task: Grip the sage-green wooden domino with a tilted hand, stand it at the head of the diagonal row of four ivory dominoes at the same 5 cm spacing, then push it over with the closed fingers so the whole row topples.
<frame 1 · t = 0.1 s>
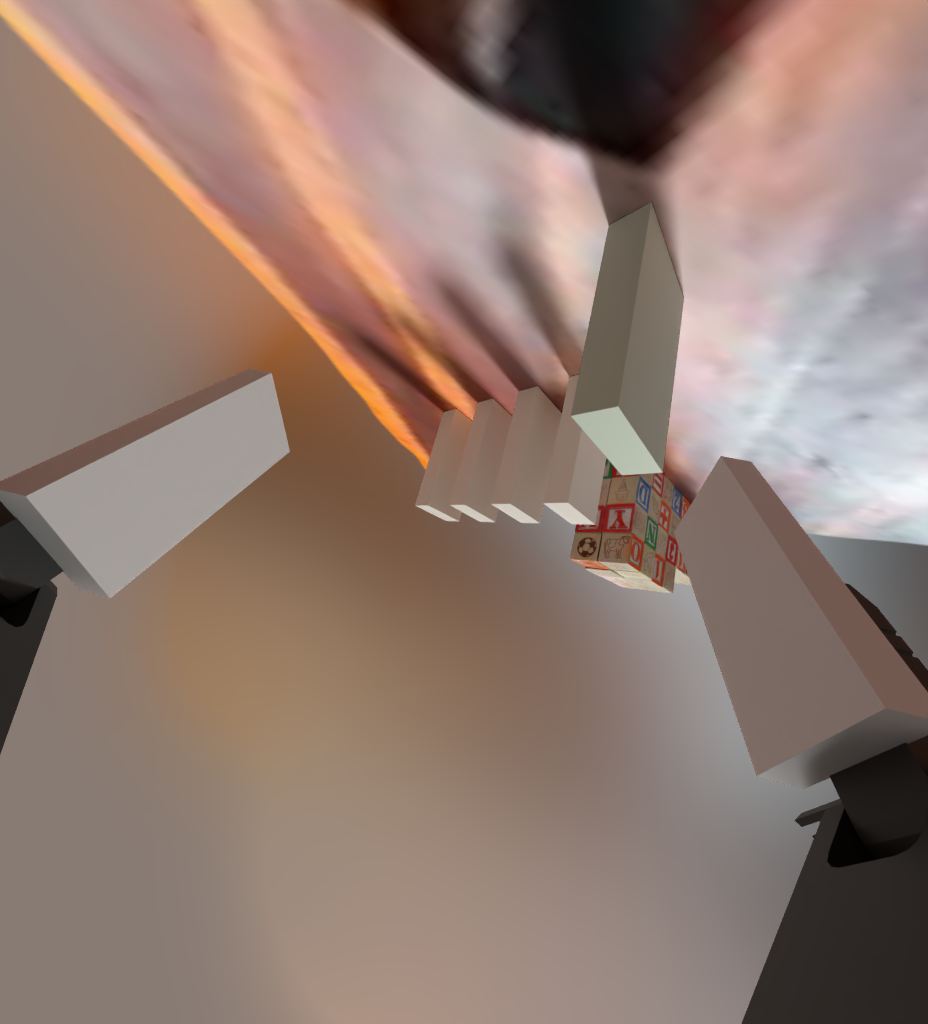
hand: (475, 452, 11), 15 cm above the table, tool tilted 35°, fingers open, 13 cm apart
sage domino: (648, 264, 20), on the table
stack of blocks: (652, 489, 46), on the table
domino 2: (592, 390, 31), on the table
domino 4: (498, 413, 38), on the table
domino 5: (463, 421, 41), on the table
domino 3: (541, 403, 34), on the table
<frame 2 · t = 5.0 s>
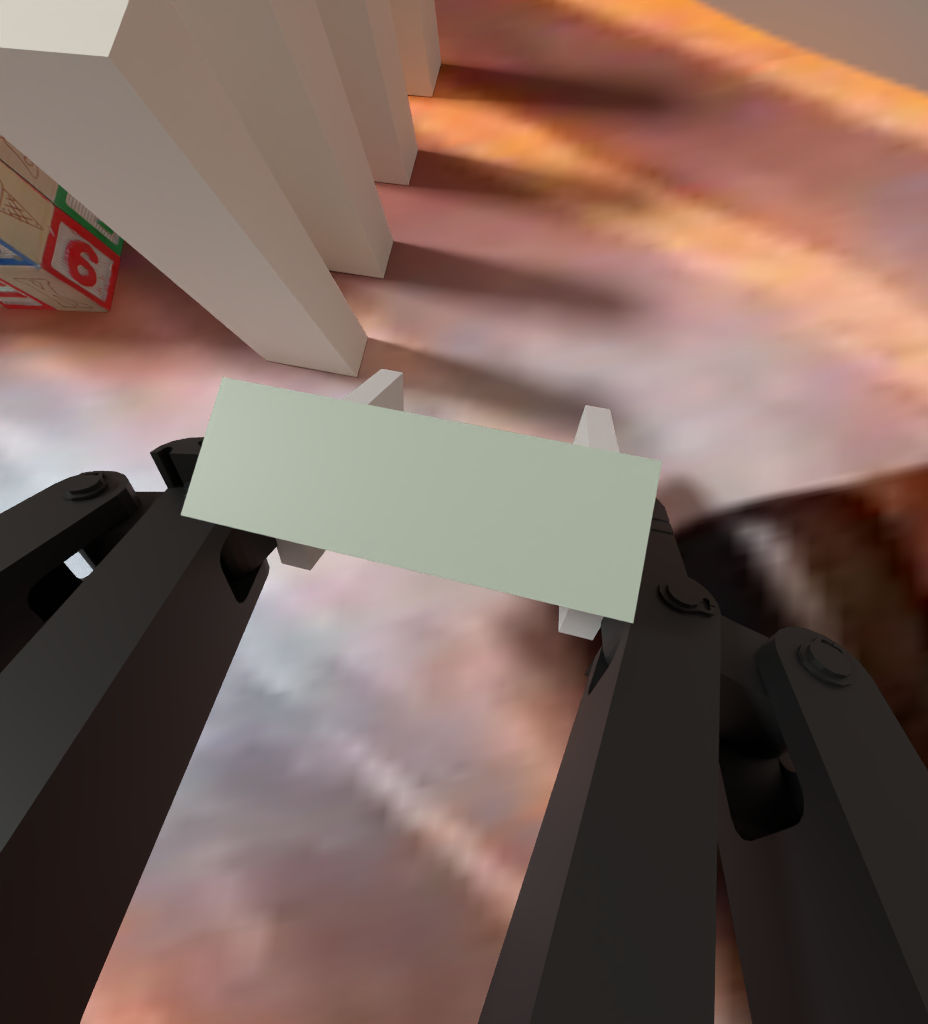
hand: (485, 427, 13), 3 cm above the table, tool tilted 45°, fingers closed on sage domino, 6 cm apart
sage domino: (469, 535, 16), on the table, touching gripper
domino 2: (316, 348, 17), on the table
domino 4: (369, 162, 18), on the table
domino 5: (393, 76, 19), on the table
domino 3: (343, 253, 18), on the table
when the fingers open (4 cm above the table, at t = 11.3 s): sage domino stays where it is, on the table.
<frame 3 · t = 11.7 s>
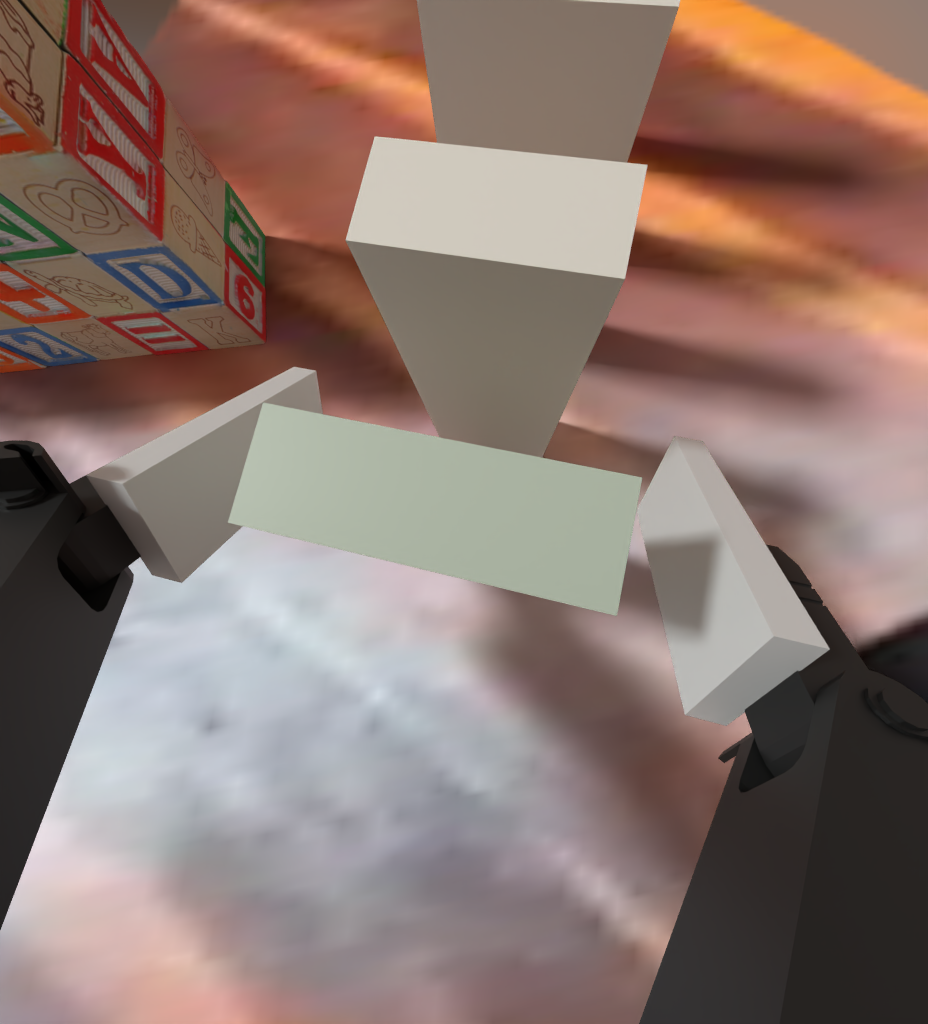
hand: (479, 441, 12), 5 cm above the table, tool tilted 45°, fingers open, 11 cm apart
sage domino: (472, 537, 16), on the table
stack of blocks: (85, 315, 20), on the table
domino 2: (495, 430, 17), on the table
domino 3: (517, 330, 17), on the table
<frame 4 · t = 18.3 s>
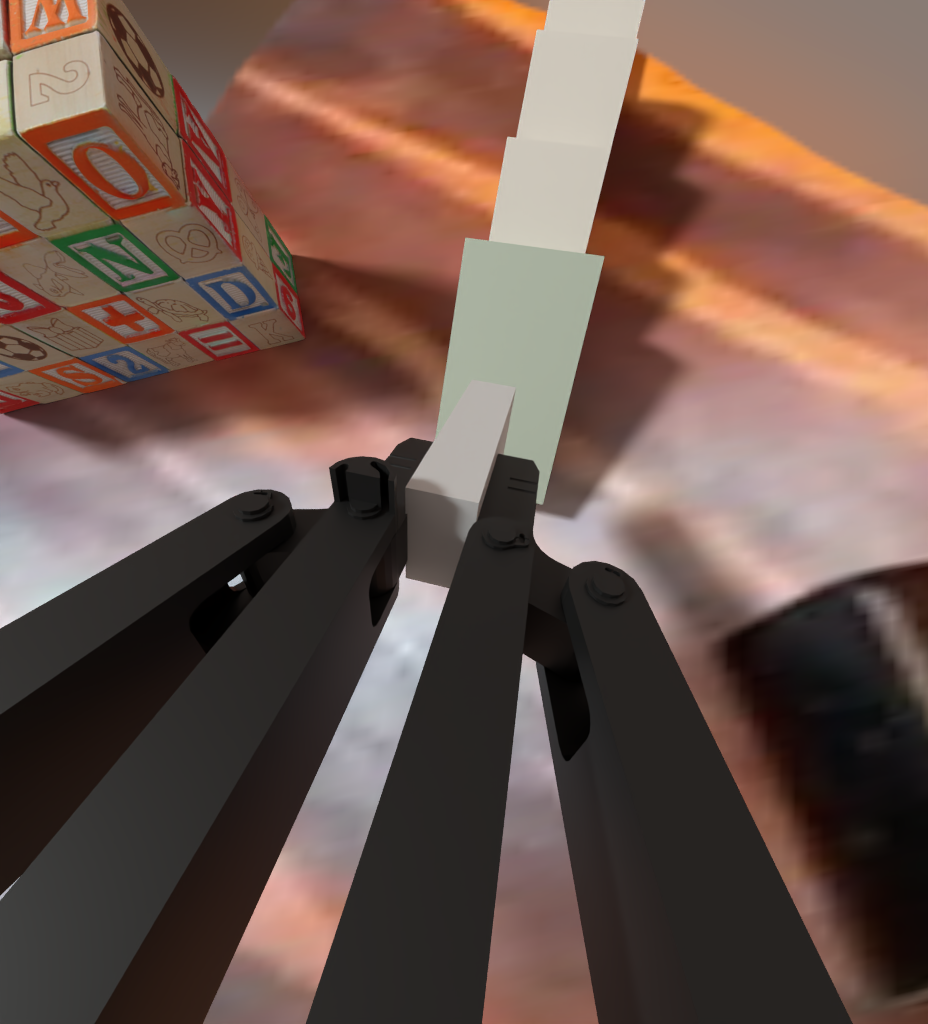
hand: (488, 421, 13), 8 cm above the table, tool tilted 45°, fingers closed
sage domino: (487, 488, 20), point 1 cm above the table, tilted 67°, touching domino 2
stack of blocks: (150, 338, 24), on the table
domino 2: (505, 399, 20), point 1 cm above the table, tilted 67°, touching domino 3, sage domino
domino 4: (547, 231, 21), point 1 cm above the table, tilted 70°, touching domino 3, domino 5
domino 3: (527, 307, 21), point 1 cm above the table, tilted 67°, touching domino 2, domino 4
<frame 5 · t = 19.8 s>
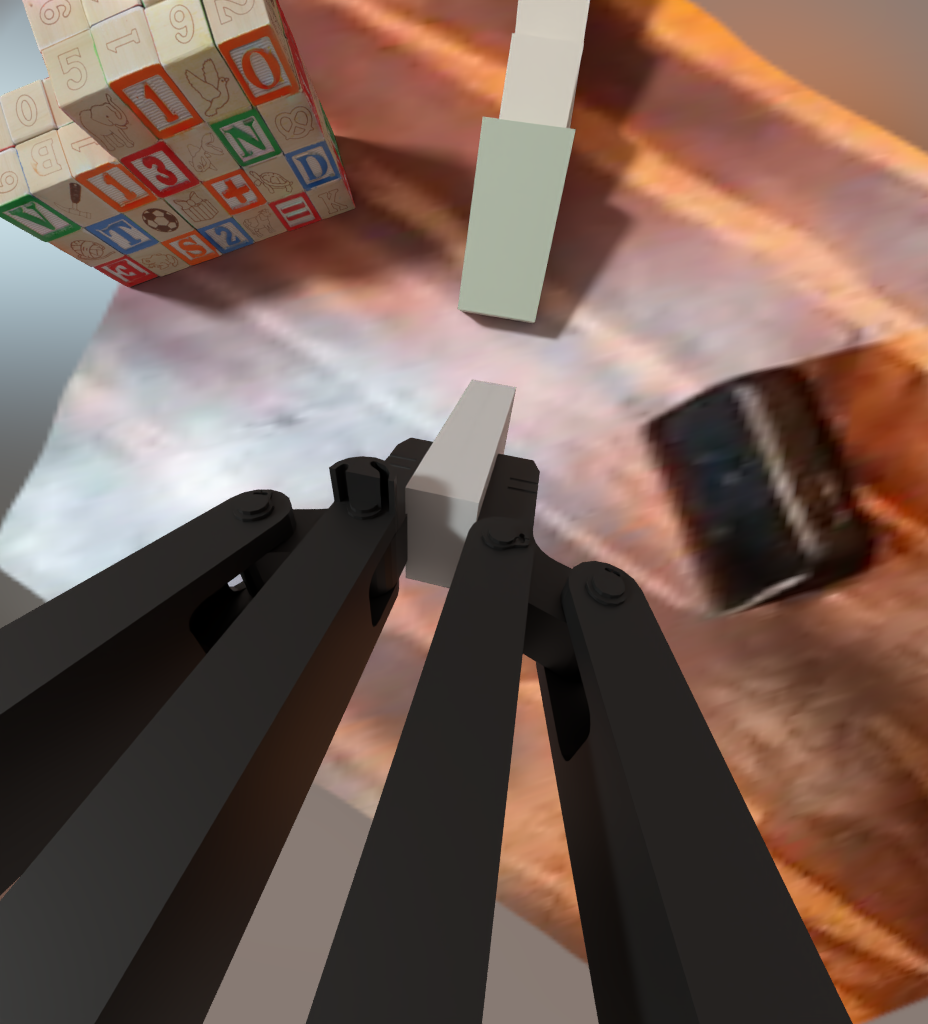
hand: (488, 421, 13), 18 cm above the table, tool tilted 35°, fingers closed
sage domino: (496, 316, 29), point 1 cm above the table, tilted 69°, touching domino 2
stack of blocks: (231, 216, 31), on the table
domino 2: (510, 249, 29), point 1 cm above the table, tilted 69°, touching sage domino
domino 3: (533, 164, 28), point 1 cm above the table, tilted 67°, touching domino 4
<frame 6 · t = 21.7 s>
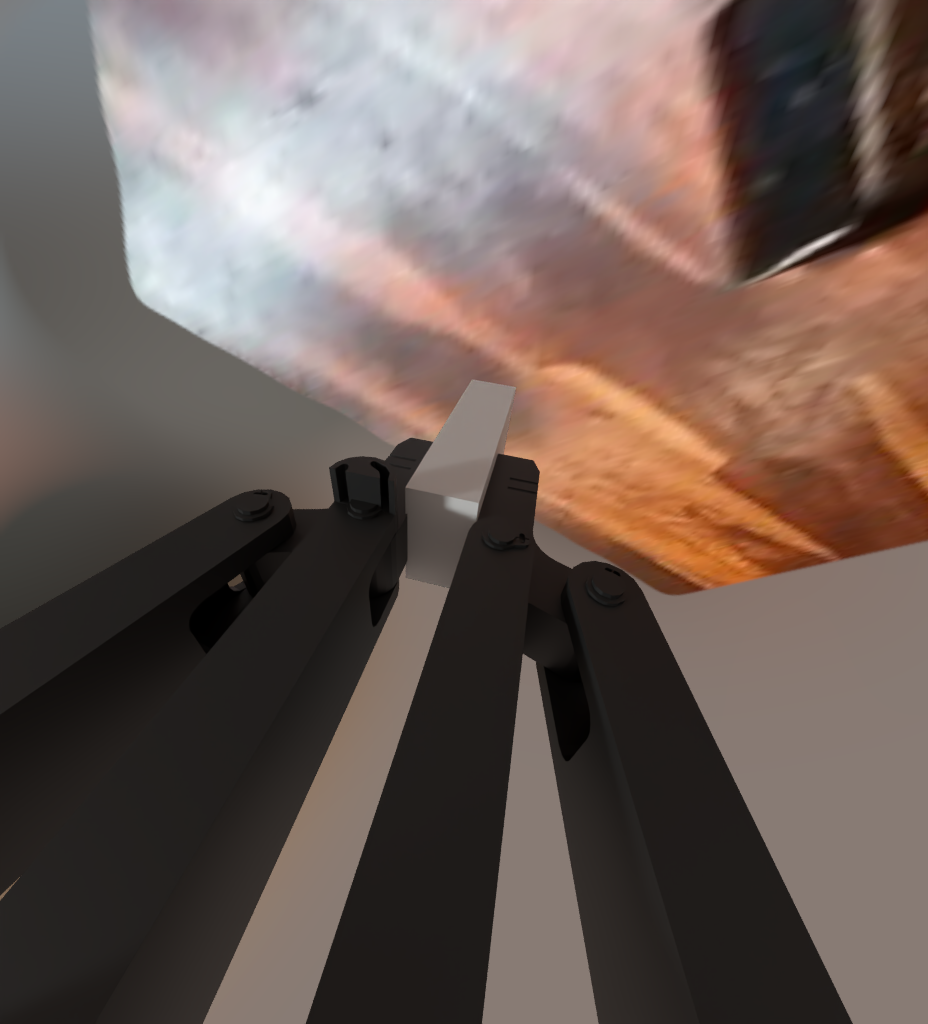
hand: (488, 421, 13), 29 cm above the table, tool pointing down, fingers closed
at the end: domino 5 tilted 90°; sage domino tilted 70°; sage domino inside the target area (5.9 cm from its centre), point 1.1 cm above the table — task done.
